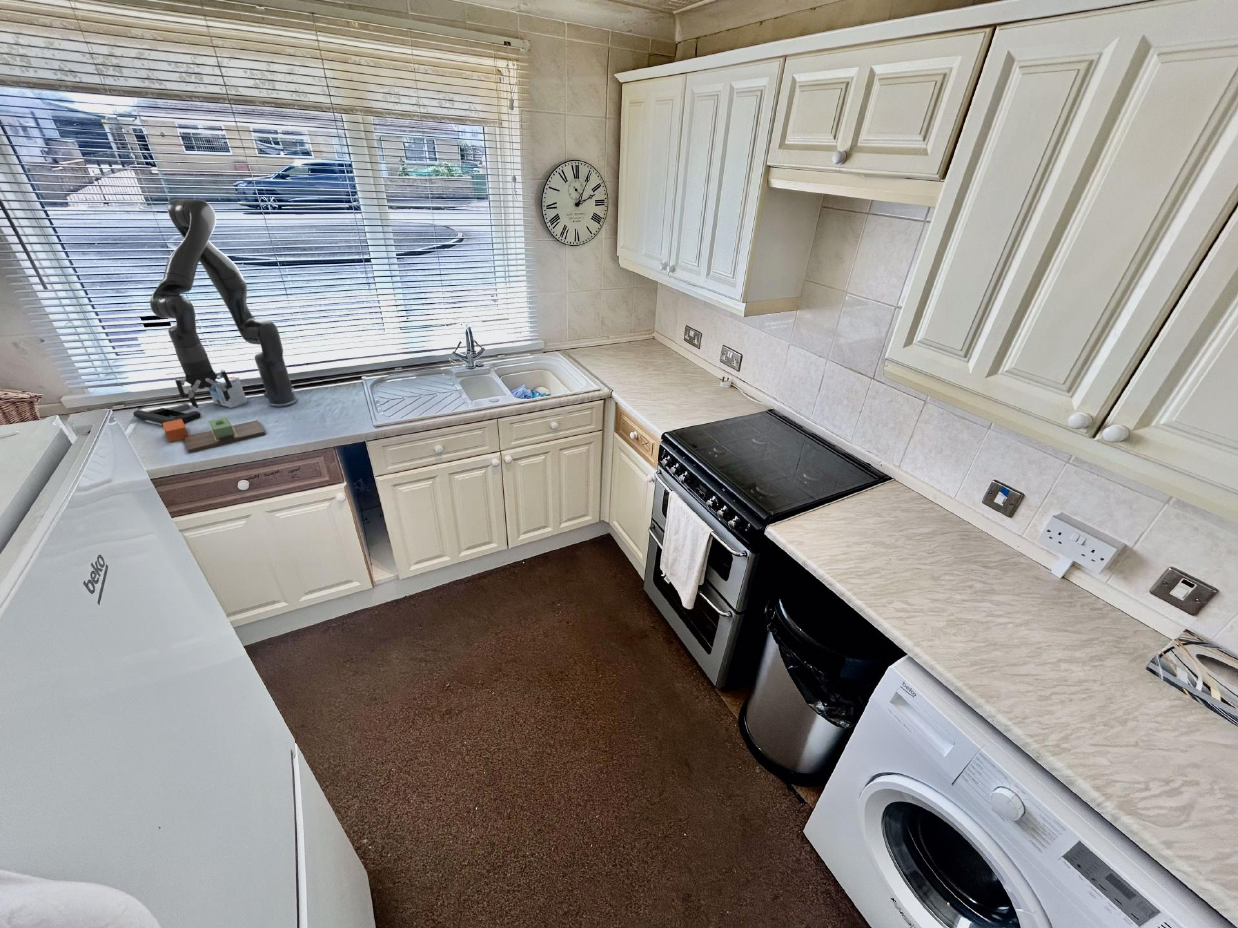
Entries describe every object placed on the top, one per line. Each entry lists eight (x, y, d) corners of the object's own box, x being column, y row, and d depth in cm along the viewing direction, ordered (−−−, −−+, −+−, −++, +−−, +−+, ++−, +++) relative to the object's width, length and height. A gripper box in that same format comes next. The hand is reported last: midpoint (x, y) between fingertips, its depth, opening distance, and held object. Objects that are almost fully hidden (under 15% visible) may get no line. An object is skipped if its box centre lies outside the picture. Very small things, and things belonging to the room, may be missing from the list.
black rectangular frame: (174, 399, 204) (127, 412, 190) (211, 407, 198) (165, 421, 185) (177, 407, 206) (131, 420, 192) (213, 415, 200) (169, 430, 186)
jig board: (185, 439, 180) (182, 433, 179) (258, 423, 193) (256, 417, 192) (189, 452, 173) (186, 446, 172) (265, 434, 185) (263, 428, 184)
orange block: (167, 432, 184) (162, 422, 182) (186, 428, 188) (181, 418, 186) (169, 442, 179) (164, 431, 177) (189, 437, 182) (184, 427, 180)
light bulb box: (213, 403, 207) (203, 378, 202) (230, 397, 212) (220, 372, 207) (232, 408, 204) (222, 382, 198) (248, 402, 209) (239, 376, 204)
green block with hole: (212, 431, 184) (207, 418, 181) (231, 427, 187) (226, 414, 184) (216, 440, 178) (211, 427, 175) (235, 435, 181) (230, 423, 178)
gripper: (217, 350, 175) (234, 395, 183) (164, 359, 167) (185, 405, 175) (221, 356, 170) (238, 402, 179) (167, 366, 162) (188, 413, 170)
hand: (212, 403), depth 177 cm, fingers open, 8 cm apart
